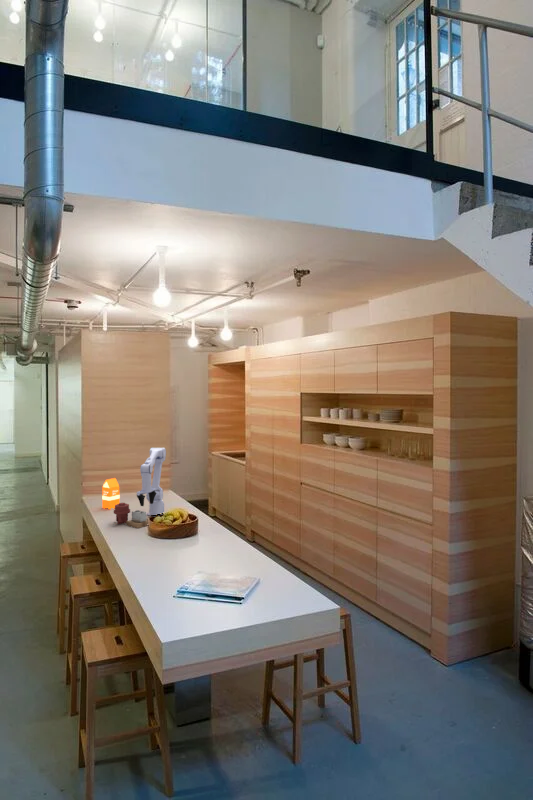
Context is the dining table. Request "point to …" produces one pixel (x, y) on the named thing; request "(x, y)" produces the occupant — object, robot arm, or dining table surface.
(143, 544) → the dining table surface
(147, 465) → the robot arm
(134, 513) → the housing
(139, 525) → the stand
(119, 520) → the mechanical component
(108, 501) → the orange juice
